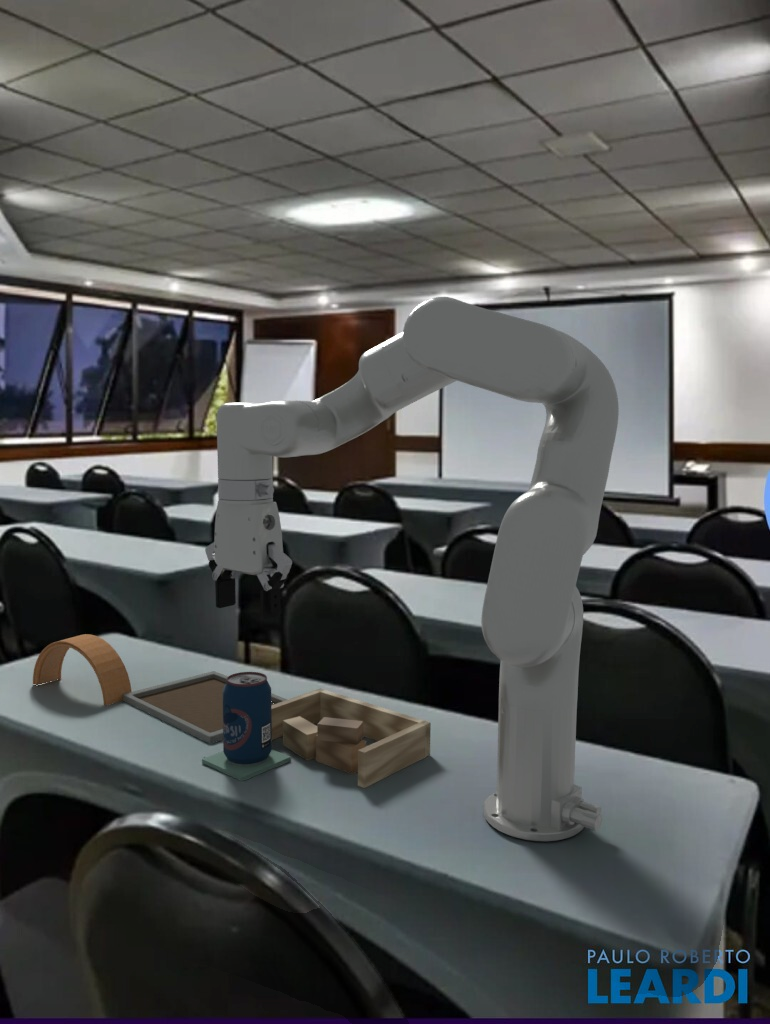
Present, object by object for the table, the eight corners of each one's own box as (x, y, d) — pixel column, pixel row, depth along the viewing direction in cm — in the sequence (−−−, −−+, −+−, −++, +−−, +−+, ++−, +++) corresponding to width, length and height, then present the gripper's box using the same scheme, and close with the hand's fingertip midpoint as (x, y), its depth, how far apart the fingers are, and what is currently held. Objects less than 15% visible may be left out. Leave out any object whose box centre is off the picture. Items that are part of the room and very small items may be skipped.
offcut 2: (365, 768, 118) (365, 741, 118) (351, 775, 116) (351, 747, 115) (330, 755, 123) (329, 729, 122) (315, 761, 120) (315, 735, 120)
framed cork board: (213, 670, 159) (316, 710, 138) (214, 678, 159) (316, 719, 138) (121, 694, 145) (219, 742, 124) (121, 702, 145) (219, 752, 124)
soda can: (213, 761, 118) (211, 680, 117) (244, 744, 124) (243, 667, 123) (251, 772, 115) (250, 688, 113) (281, 754, 121) (280, 675, 119)
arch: (105, 707, 142) (103, 650, 141) (32, 686, 153) (30, 633, 151) (132, 697, 147) (130, 642, 146) (59, 678, 157) (57, 626, 156)
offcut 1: (324, 756, 122) (324, 730, 122) (307, 761, 121) (307, 734, 120) (299, 741, 128) (299, 716, 127) (282, 745, 126) (282, 720, 126)
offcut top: (363, 737, 119) (363, 721, 119) (357, 744, 117) (357, 728, 116) (324, 732, 121) (324, 717, 121) (317, 739, 118) (317, 723, 118)
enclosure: (430, 754, 123) (430, 722, 122) (364, 788, 112) (364, 752, 111) (320, 717, 137) (320, 688, 137) (252, 743, 126) (252, 712, 126)
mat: (290, 760, 120) (290, 756, 120) (242, 781, 113) (242, 777, 113) (250, 744, 126) (250, 740, 126) (202, 763, 119) (202, 759, 119)
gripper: (308, 493, 112) (309, 616, 114) (227, 486, 124) (229, 598, 126) (266, 497, 107) (268, 626, 109) (185, 489, 118) (188, 607, 120)
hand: (247, 611), depth 117 cm, fingers open, 9 cm apart
